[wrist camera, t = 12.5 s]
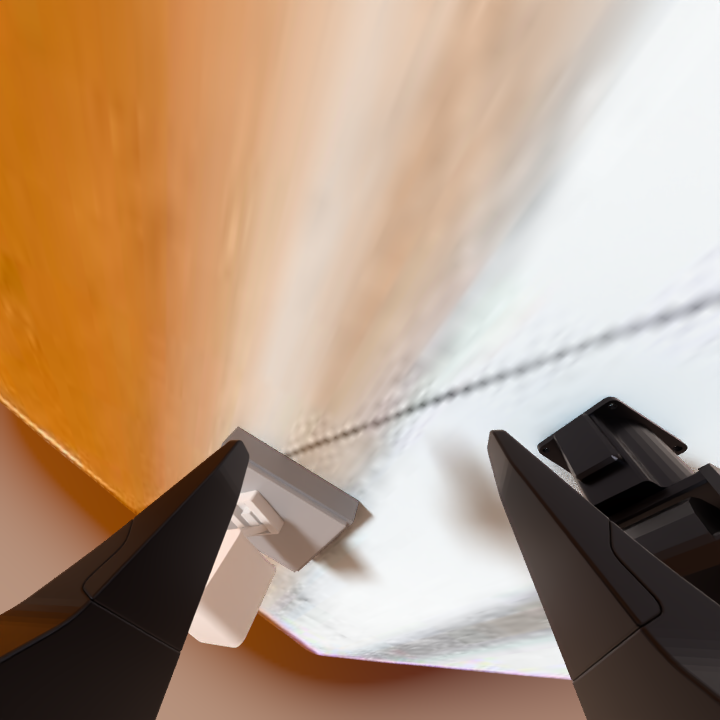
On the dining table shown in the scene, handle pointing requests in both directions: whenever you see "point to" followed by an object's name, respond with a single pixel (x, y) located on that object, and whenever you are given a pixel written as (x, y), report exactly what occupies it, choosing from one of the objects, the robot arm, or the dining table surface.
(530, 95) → the dining table surface
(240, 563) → the security camera
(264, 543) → the grey square slab
